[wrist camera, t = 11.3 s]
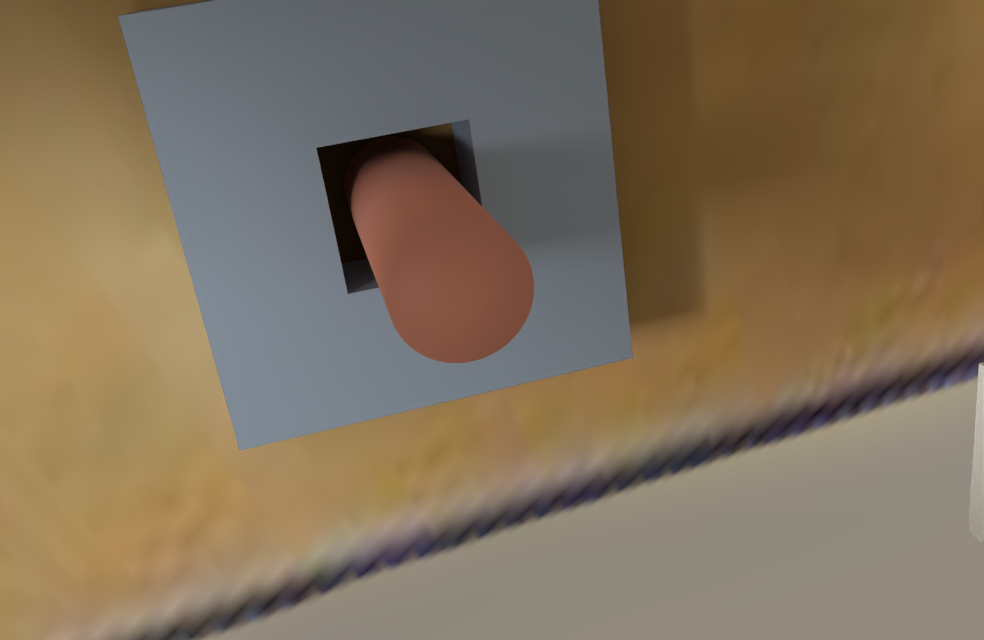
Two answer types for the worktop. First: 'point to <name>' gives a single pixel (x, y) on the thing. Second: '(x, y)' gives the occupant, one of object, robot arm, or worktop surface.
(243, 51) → the socket slab
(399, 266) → the peg
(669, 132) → the worktop surface
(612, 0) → the worktop surface
